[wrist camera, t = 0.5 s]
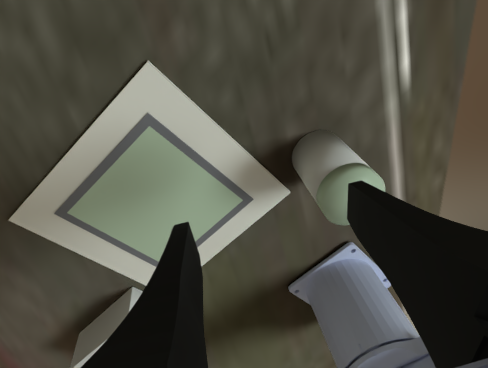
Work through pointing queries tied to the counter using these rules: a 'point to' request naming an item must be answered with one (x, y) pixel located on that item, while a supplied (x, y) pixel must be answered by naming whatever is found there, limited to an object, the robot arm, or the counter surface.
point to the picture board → (149, 182)
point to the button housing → (103, 327)
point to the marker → (331, 172)
